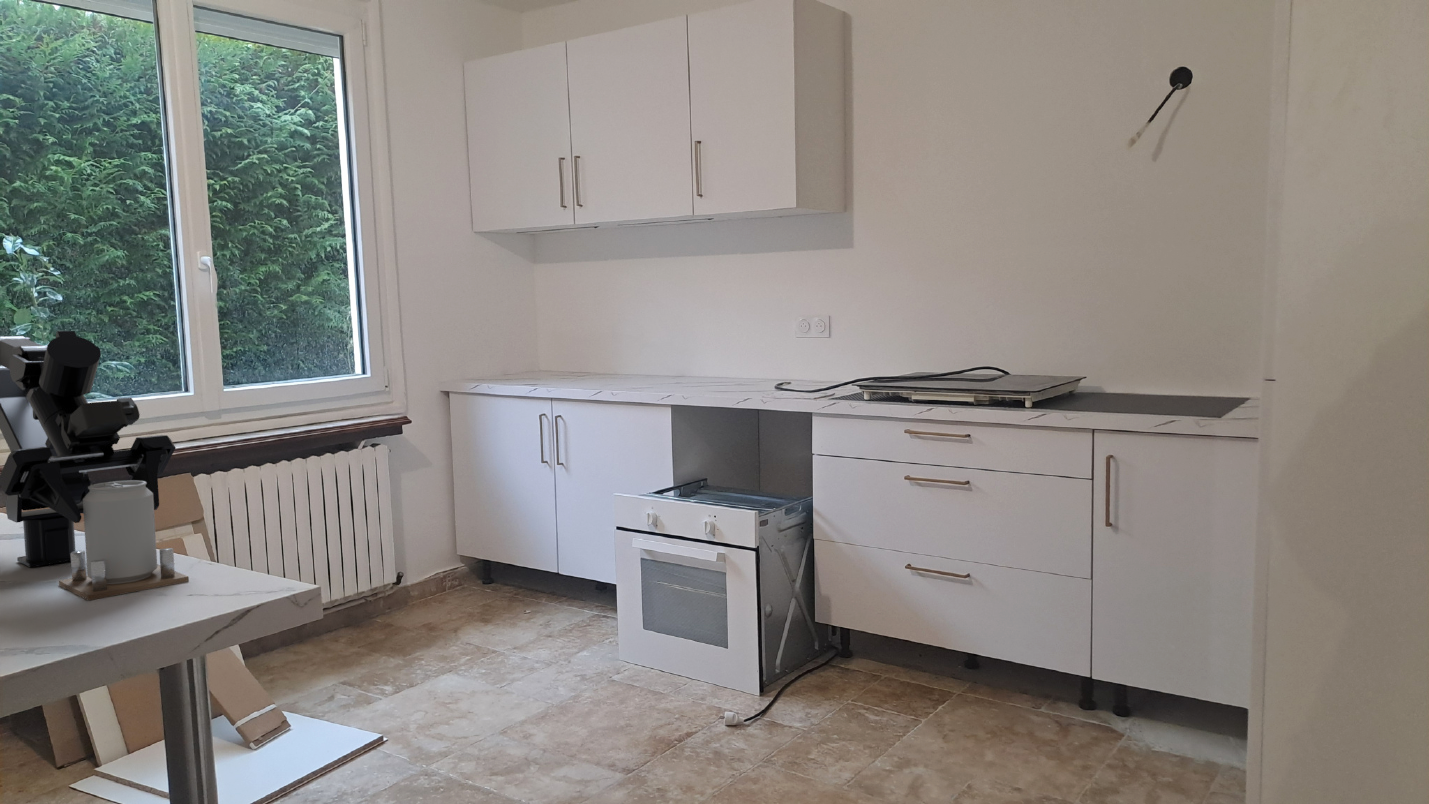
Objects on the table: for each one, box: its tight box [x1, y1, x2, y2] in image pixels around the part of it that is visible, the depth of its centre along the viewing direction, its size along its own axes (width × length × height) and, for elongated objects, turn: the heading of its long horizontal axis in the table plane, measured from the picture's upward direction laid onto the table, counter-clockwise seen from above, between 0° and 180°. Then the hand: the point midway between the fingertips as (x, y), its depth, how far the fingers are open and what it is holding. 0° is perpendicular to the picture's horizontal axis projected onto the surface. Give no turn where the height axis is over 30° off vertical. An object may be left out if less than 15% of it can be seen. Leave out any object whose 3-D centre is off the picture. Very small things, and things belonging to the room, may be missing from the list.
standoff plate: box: [58, 547, 190, 601], centre depth 121 cm, size 11×11×4 cm
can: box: [83, 479, 158, 584], centre depth 121 cm, size 8×8×12 cm
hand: (119, 514), depth 121 cm, fingers open, 9 cm apart
